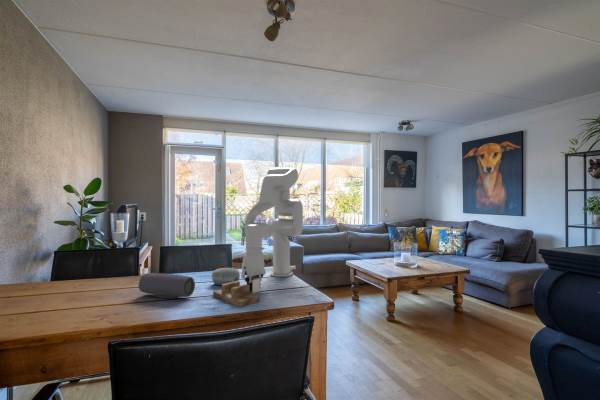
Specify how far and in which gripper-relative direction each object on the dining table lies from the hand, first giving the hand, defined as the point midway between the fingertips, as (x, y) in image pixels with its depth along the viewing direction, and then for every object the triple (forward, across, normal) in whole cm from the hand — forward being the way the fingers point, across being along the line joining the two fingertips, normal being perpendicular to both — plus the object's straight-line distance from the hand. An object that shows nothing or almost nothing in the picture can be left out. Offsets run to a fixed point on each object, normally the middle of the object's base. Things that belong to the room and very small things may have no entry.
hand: (253, 289), depth 148 cm
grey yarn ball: (+1, +3, -19) cm, 19 cm away
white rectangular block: (+1, 0, 0) cm, 1 cm away
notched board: (+1, +12, +3) cm, 12 cm away
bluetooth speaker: (+1, +32, -20) cm, 38 cm away
